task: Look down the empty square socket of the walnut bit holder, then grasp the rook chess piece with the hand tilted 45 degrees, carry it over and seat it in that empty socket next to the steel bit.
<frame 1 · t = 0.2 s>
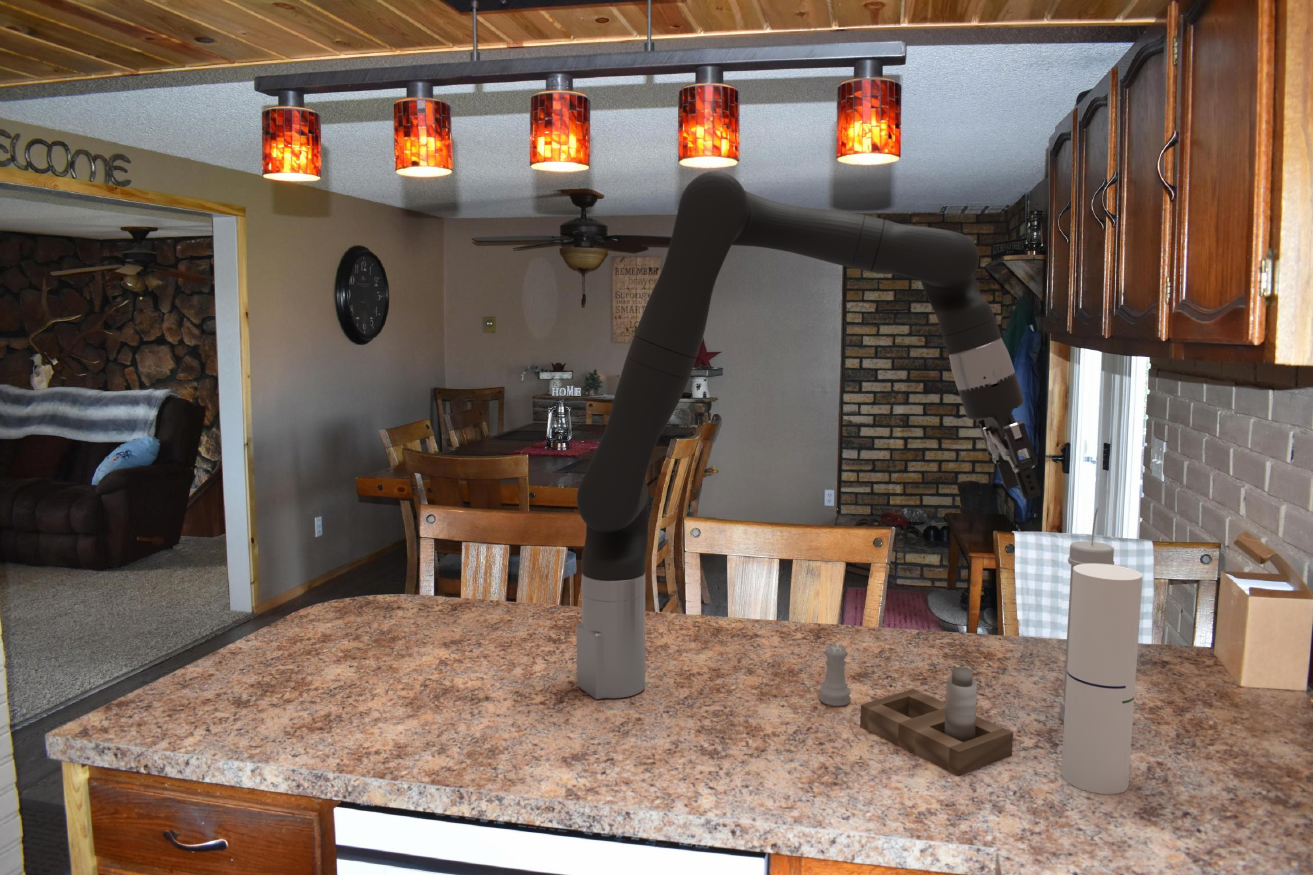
hand: (1022, 491, 124), 31 cm above the kitchen counter, tool tilted 20°, fingers open, 8 cm apart
rook chess piece: (834, 702, 130), on the kitchen counter
cylindrical container: (1094, 780, 108), on the kitchen counter
holder: (933, 740, 118), on the kitchen counter
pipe: (1081, 724, 123), on the kitchen counter
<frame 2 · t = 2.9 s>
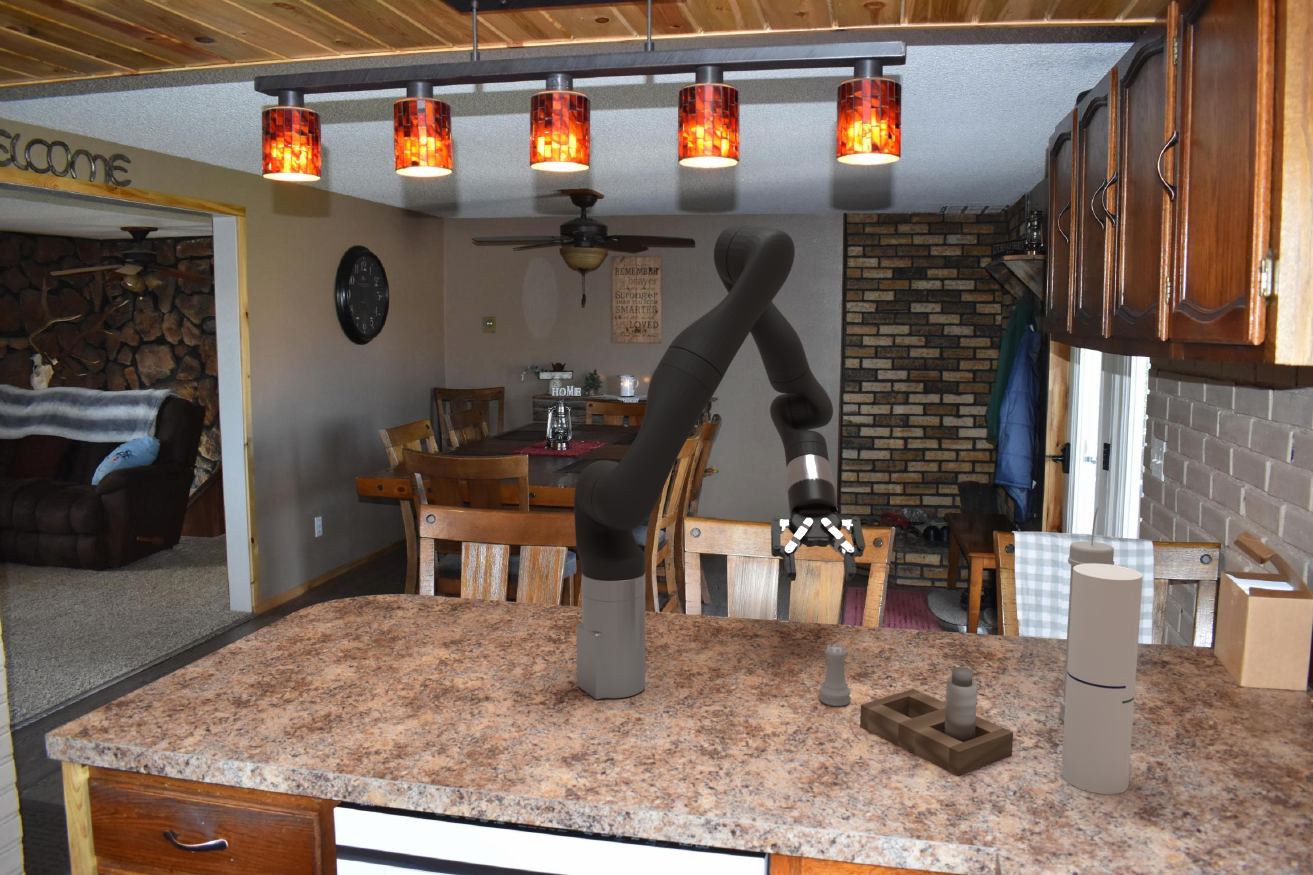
hand: (821, 578, 139), 15 cm above the kitchen counter, tool tilted 45°, fingers open, 8 cm apart
nothing on the kitchen counter moved.
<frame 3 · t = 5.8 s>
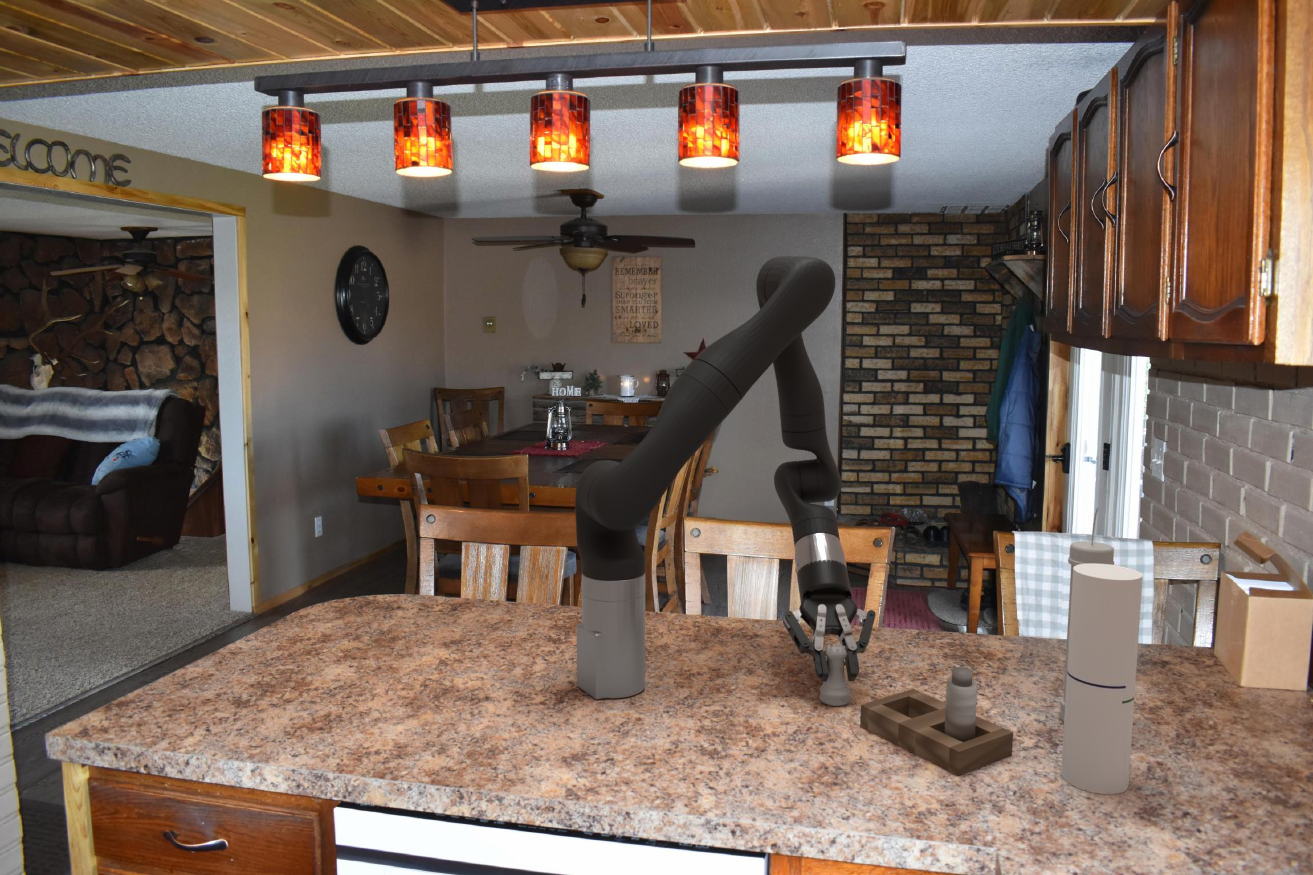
hand: (838, 678, 128), 4 cm above the kitchen counter, tool tilted 45°, fingers closed on rook chess piece, 3 cm apart
rook chess piece: (834, 701, 130), on the kitchen counter, touching gripper
everything else where it was.
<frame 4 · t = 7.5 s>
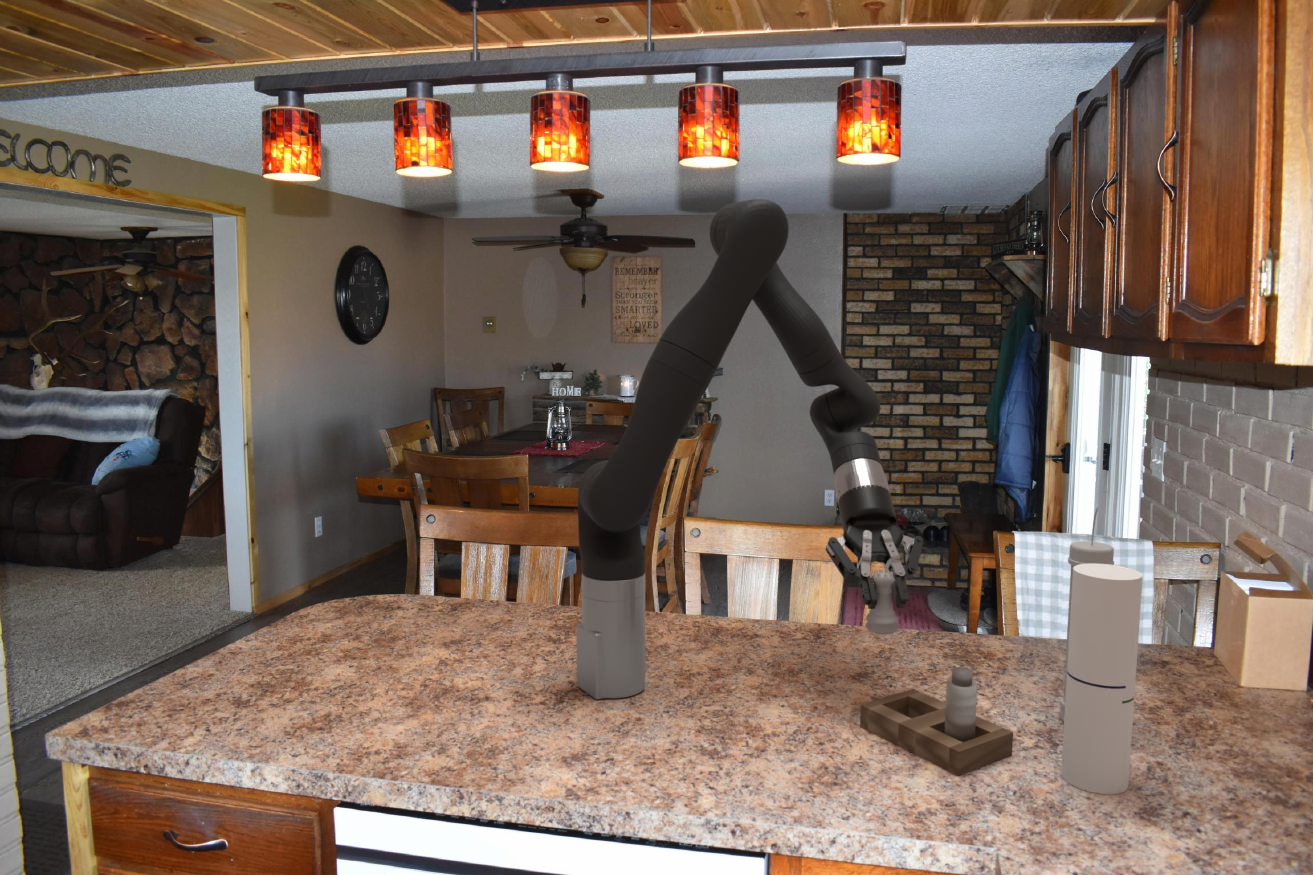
hand: (887, 605, 122), 16 cm above the kitchen counter, tool tilted 45°, fingers closed on rook chess piece, 3 cm apart
rook chess piece: (881, 630, 124), point 12 cm above the kitchen counter, touching gripper
everything else where it was.
when the fingers open (8 cm above the kitchen counter, at t = 9.6 s): rook chess piece drops 4 cm, resting in holder.
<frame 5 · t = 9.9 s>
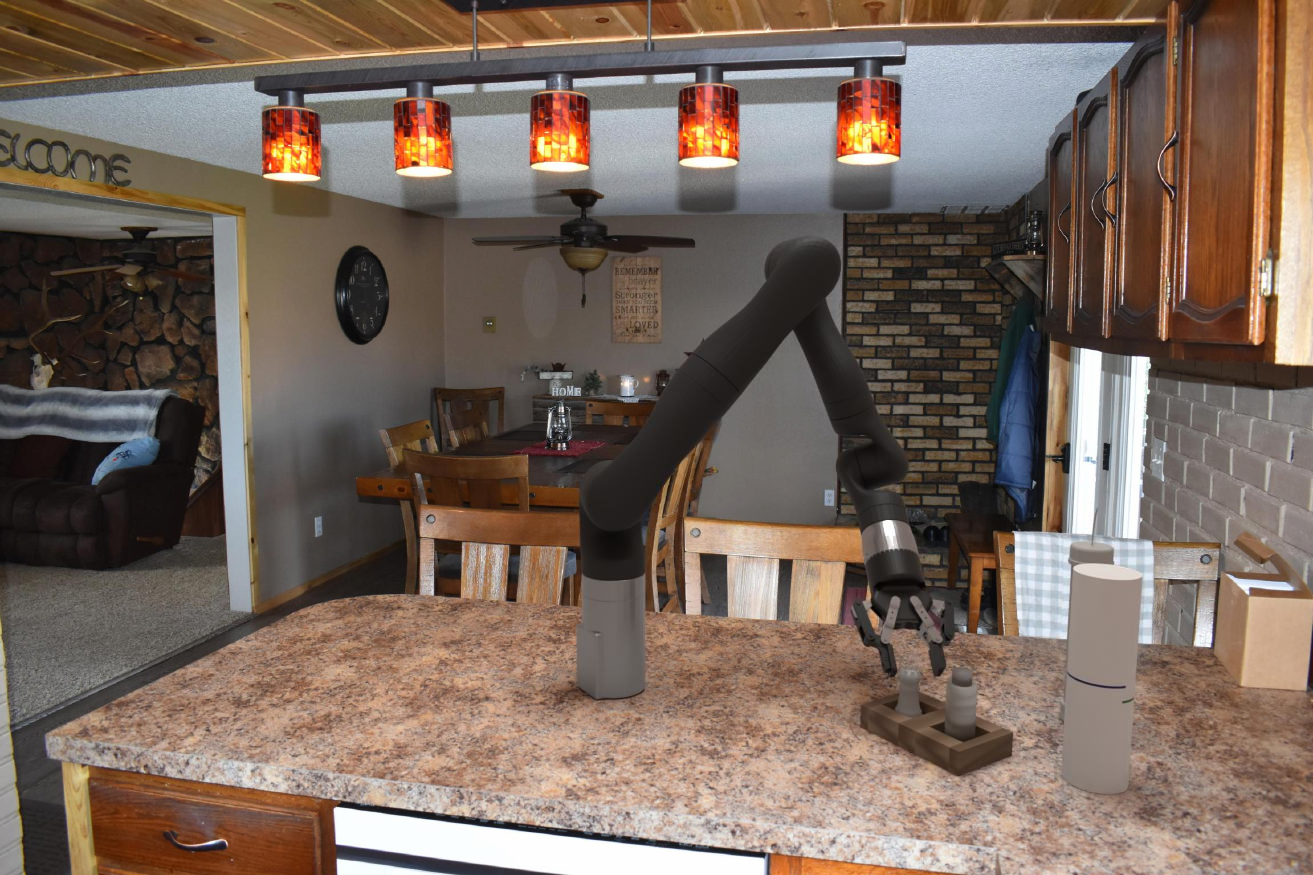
hand: (916, 674, 118), 8 cm above the kitchen counter, tool tilted 45°, fingers open, 5 cm apart
rook chess piece: (907, 729, 121), resting in holder
everything else where it was.
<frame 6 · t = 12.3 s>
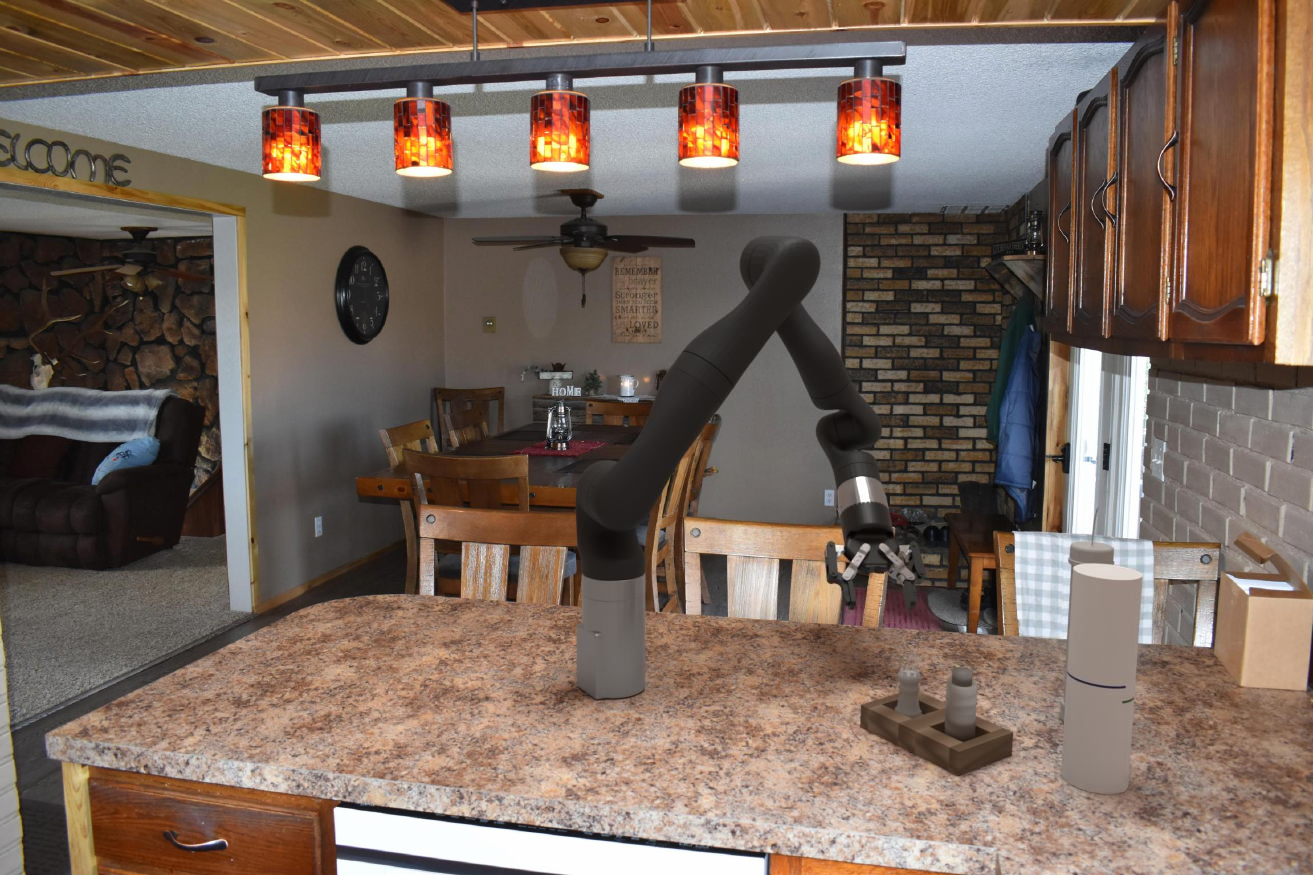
hand: (882, 607, 132), 13 cm above the kitchen counter, tool tilted 45°, fingers open, 8 cm apart
nothing on the kitchen counter moved.
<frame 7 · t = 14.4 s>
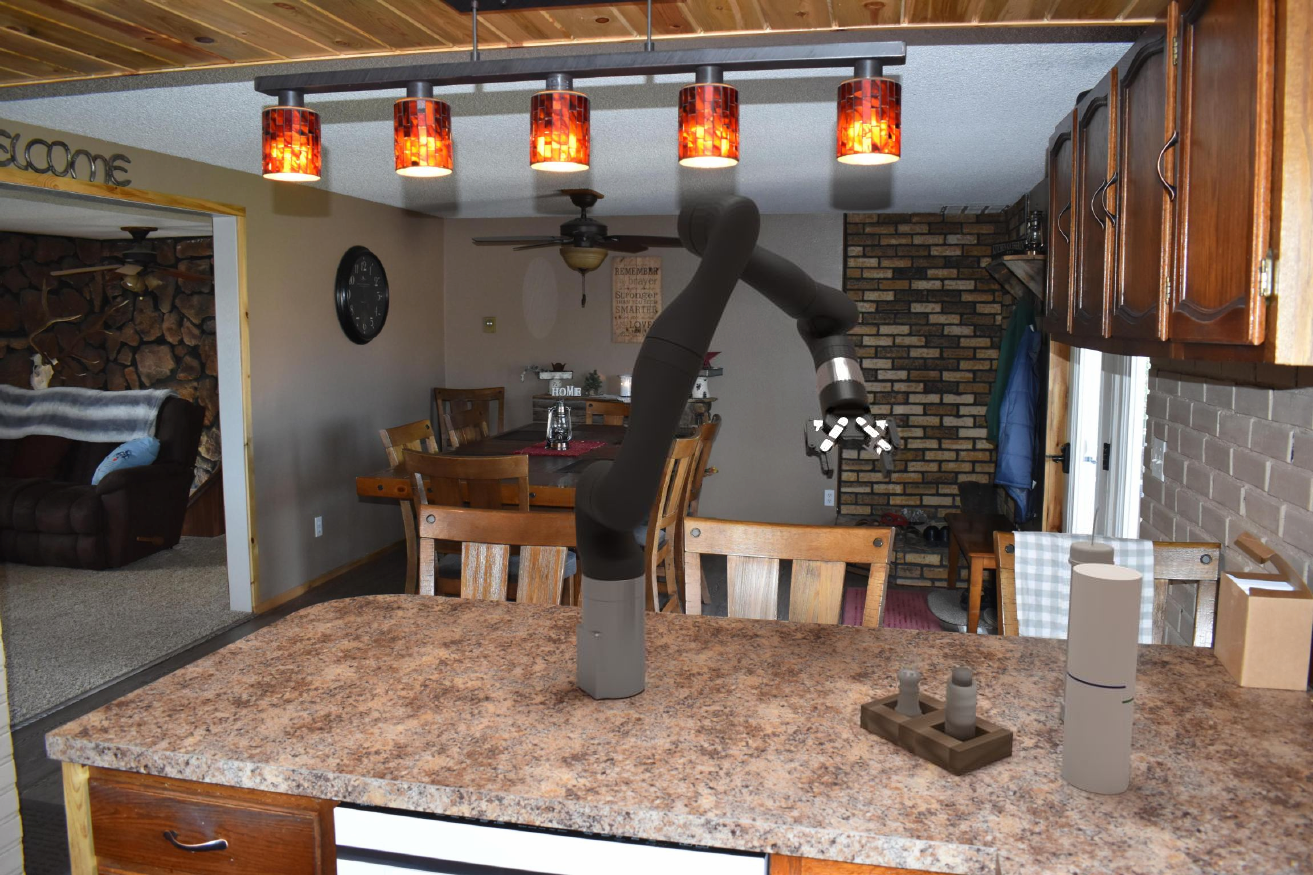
hand: (859, 475, 136), 31 cm above the kitchen counter, tool tilted 45°, fingers open, 8 cm apart
nothing on the kitchen counter moved.
at the end: rook chess piece 0.3 cm from the target spot on the holder, point 0.0 cm above the holder's base; rook chess piece tilted 0°; the gripper is holding nothing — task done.
